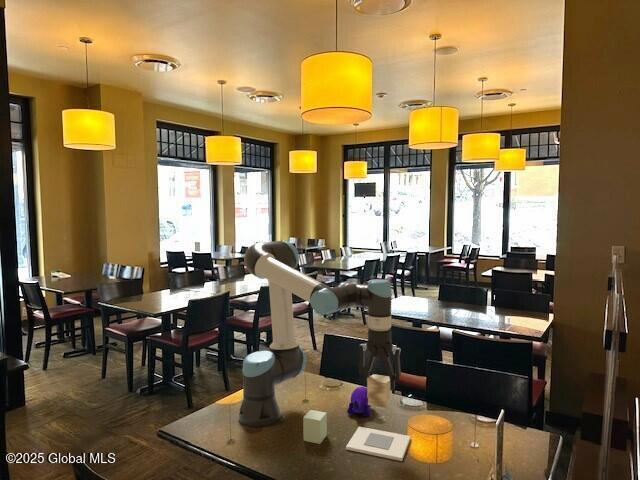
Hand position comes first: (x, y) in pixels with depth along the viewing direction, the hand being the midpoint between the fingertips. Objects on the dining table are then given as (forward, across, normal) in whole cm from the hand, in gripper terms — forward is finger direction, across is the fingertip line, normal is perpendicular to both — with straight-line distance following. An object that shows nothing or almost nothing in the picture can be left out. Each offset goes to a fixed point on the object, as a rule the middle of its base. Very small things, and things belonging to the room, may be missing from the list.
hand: (379, 397), depth 143 cm
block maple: (+2, 0, 0) cm, 2 cm away
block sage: (+16, -21, -4) cm, 27 cm away
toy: (+16, -12, +19) cm, 28 cm away
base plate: (+16, 0, 0) cm, 16 cm away
